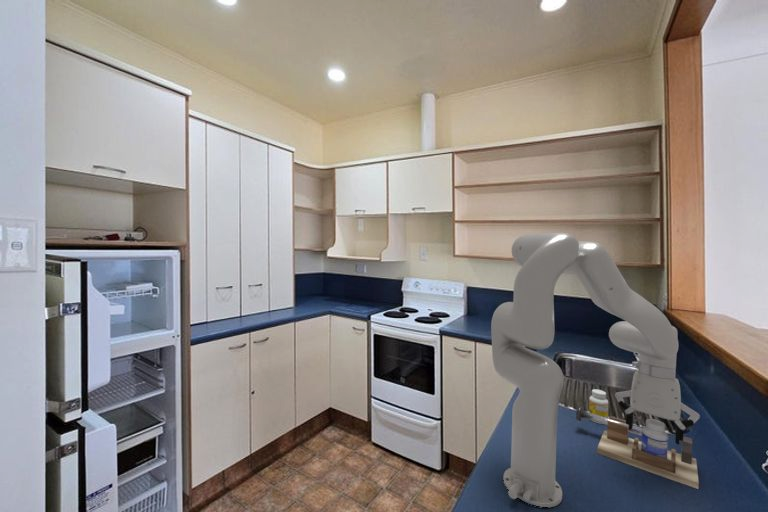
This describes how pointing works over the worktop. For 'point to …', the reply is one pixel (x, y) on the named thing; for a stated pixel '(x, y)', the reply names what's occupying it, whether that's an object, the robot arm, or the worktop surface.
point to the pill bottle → (654, 438)
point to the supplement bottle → (598, 403)
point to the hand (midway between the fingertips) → (653, 434)
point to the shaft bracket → (649, 455)
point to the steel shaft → (602, 420)
